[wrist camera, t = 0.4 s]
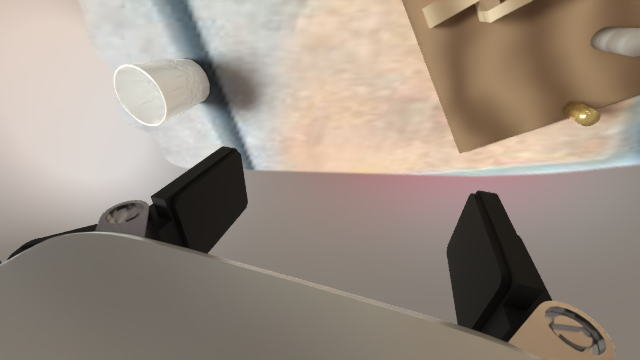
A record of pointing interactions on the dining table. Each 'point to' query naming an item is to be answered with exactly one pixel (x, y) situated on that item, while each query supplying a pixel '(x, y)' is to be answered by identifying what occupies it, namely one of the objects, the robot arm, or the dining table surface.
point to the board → (528, 63)
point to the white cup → (160, 89)
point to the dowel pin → (581, 113)
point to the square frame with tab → (489, 5)
